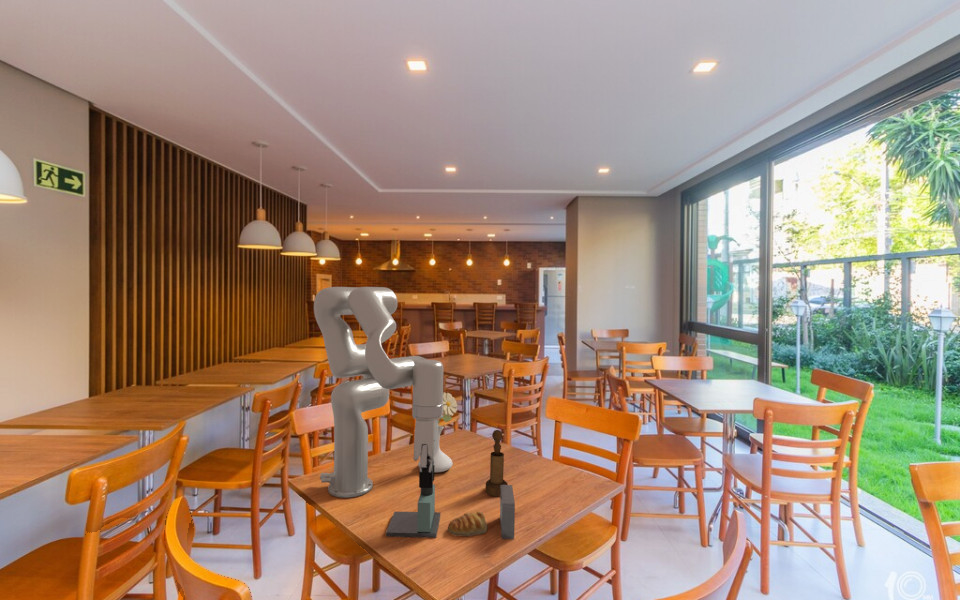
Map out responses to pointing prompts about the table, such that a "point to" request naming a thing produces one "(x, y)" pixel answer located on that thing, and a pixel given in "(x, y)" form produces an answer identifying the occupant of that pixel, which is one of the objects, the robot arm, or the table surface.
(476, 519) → the pastry
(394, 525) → the dark grey flat plate
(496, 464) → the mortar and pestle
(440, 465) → the flower in vase
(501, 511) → the block
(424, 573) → the table surface
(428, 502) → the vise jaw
